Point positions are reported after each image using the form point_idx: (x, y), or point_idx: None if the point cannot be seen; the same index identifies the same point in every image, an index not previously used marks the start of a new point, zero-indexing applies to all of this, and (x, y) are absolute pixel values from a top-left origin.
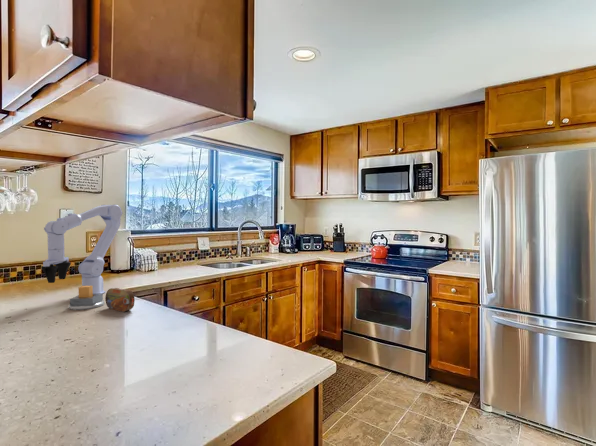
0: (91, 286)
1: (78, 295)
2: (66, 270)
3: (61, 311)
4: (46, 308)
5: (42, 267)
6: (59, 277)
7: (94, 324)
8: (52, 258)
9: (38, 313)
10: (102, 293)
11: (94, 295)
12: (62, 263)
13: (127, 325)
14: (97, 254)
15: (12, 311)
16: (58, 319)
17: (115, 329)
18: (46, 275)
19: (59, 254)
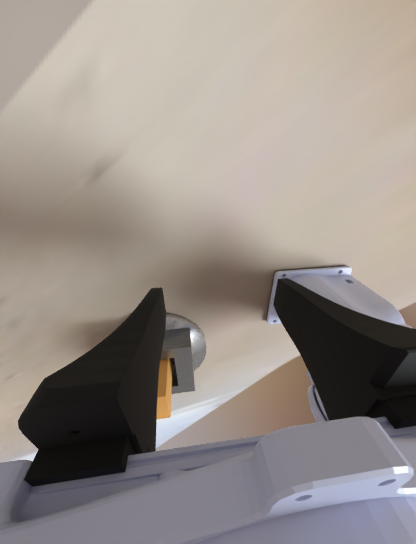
0: (161, 416)
1: (166, 351)
2: (308, 359)
3: (91, 320)
4: (120, 252)
5: (27, 416)
6: (283, 286)
7: (14, 425)
8: None
9: (52, 268)
10: (193, 390)
11: (178, 379)
12: (361, 412)
13: (30, 457)
14: None
15: (47, 121)
16: (16, 356)
17: (2, 454)
18: (125, 325)
19: None
